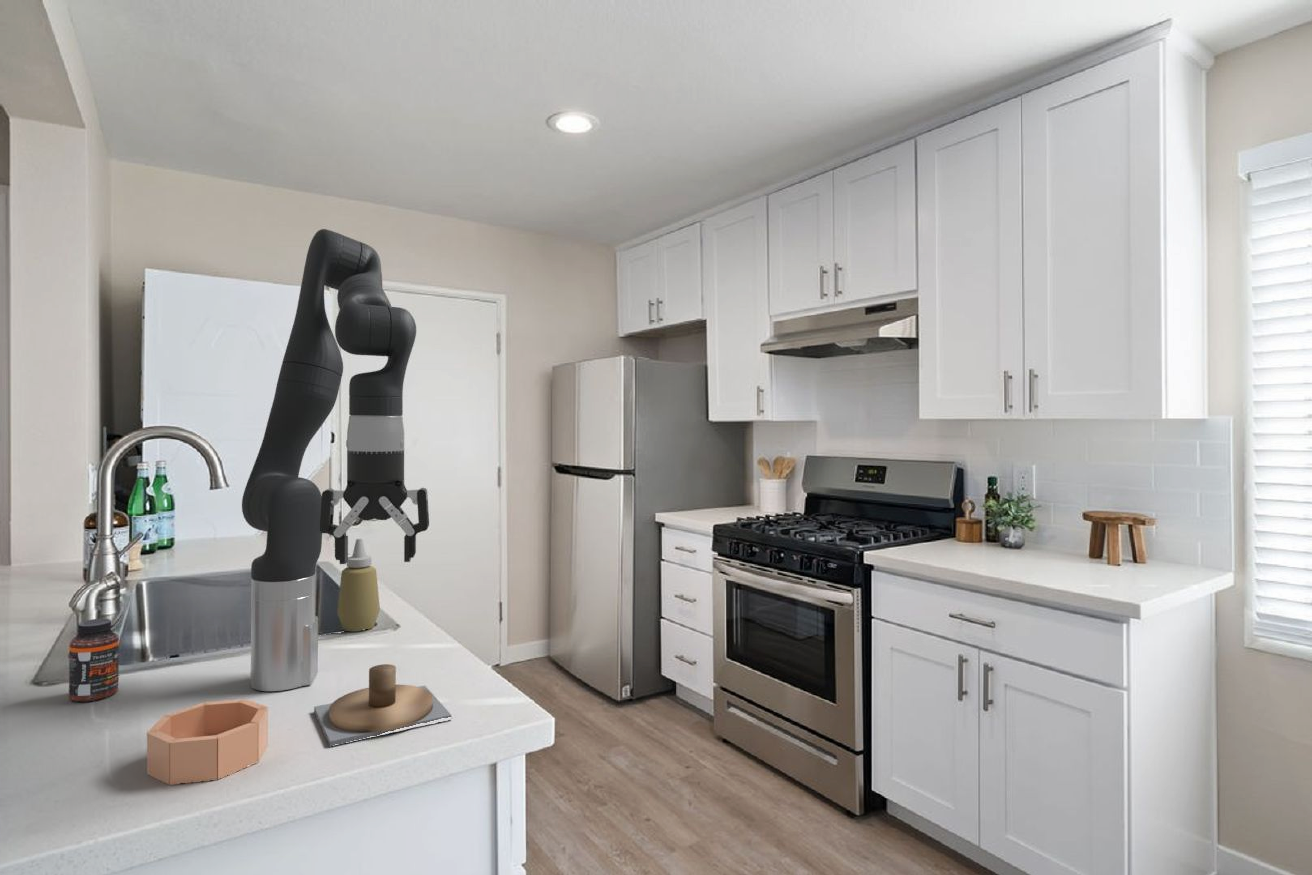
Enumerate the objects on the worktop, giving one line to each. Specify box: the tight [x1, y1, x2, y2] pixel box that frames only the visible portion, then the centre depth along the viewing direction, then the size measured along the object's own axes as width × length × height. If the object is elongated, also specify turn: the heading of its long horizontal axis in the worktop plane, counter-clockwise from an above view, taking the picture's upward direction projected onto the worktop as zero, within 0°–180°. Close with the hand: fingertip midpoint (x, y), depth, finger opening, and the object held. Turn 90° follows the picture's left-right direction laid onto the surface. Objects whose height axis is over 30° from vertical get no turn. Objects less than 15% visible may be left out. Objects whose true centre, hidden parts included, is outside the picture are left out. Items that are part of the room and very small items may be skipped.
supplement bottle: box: [68, 618, 120, 703], centre depth 109 cm, size 6×6×11 cm
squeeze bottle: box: [336, 538, 381, 632], centre depth 145 cm, size 8×8×18 cm
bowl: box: [146, 698, 269, 786], centre depth 90 cm, size 12×12×5 cm
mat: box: [313, 685, 452, 747], centre depth 104 cm, size 16×13×1 cm
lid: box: [329, 663, 433, 732], centre depth 103 cm, size 14×14×6 cm
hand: (375, 562), depth 102 cm, fingers open, 8 cm apart
